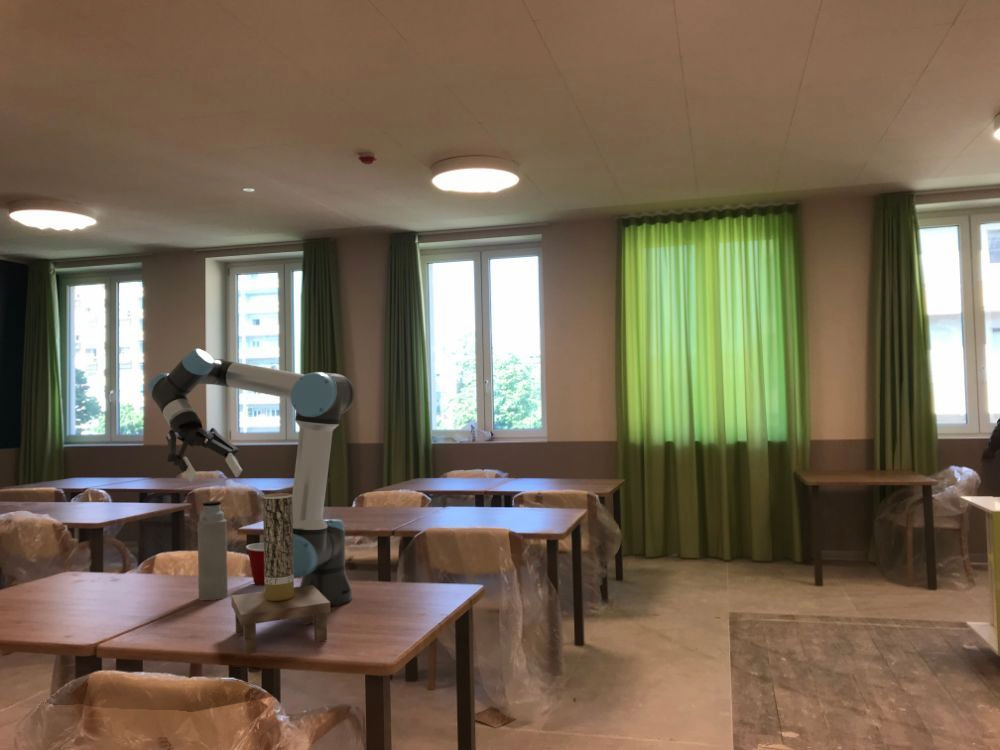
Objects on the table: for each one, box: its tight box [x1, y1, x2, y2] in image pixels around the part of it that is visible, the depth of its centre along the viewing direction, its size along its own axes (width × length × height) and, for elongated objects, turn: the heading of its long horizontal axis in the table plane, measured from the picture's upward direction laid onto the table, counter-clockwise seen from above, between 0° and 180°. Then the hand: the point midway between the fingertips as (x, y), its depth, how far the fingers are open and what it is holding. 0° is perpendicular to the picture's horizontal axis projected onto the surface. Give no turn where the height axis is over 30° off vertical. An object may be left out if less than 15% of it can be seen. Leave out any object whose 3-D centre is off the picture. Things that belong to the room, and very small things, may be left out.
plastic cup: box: [245, 542, 265, 586], centre depth 238 cm, size 11×11×12 cm
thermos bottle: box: [197, 500, 229, 601], centre depth 223 cm, size 8×8×28 cm
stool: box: [230, 585, 331, 655], centre depth 182 cm, size 20×20×9 cm
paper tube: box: [262, 492, 295, 602], centre depth 183 cm, size 7×7×25 cm
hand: (217, 476), depth 198 cm, fingers open, 13 cm apart
